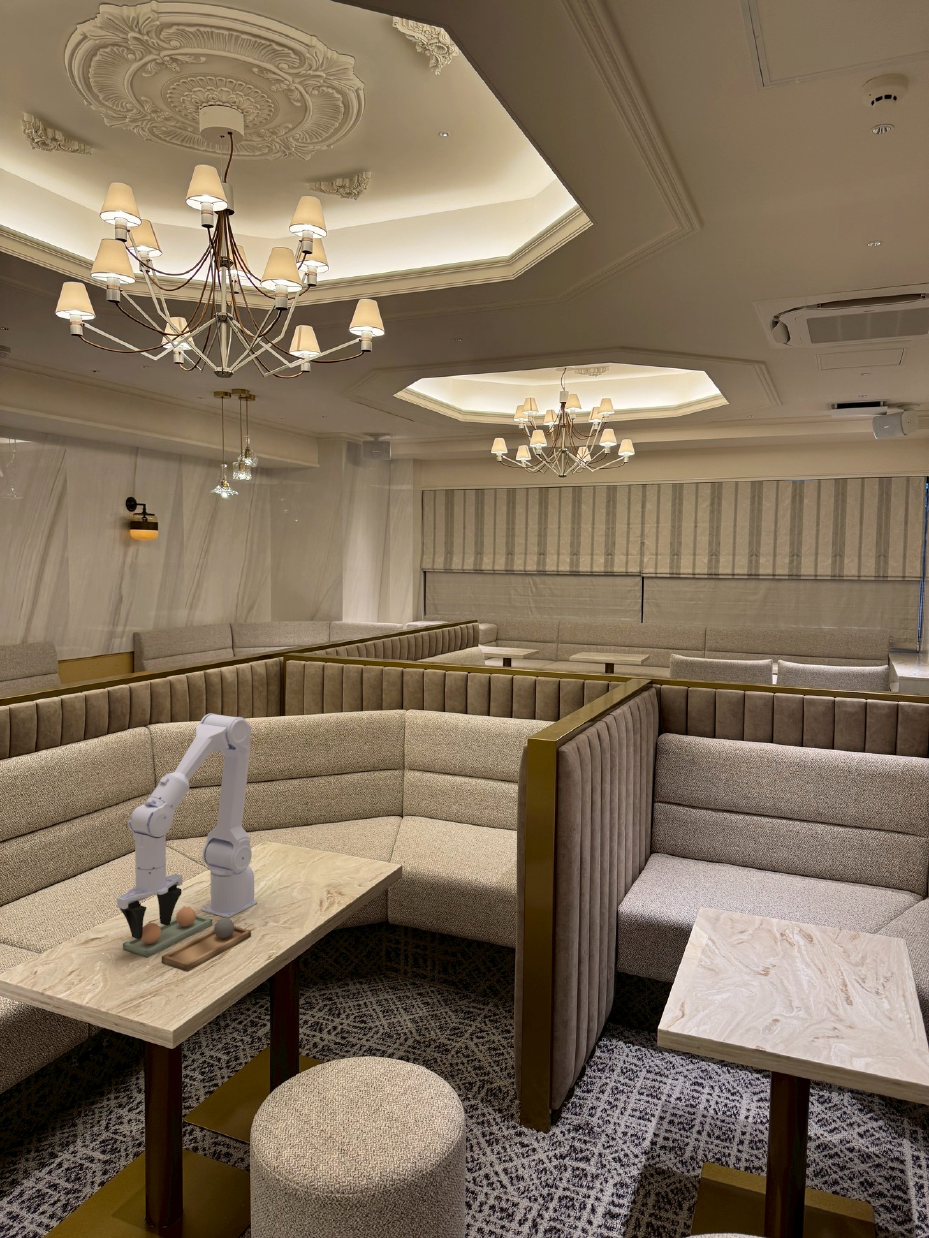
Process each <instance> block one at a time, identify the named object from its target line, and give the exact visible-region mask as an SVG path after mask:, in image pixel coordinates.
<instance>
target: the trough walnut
mask: <svg viewBox="0 0 929 1238" xmlns="http://www.w3.org/2000/svg"><path fill="white" fill-rule="evenodd" d="M251 936H252V930H250V929H247V928H243V927H239V926H236V925H234V932H233V934H232V935H231V936H230V937H228V938H225V939H221V938H219V937H217V936H216V934H215V932H214V929H212V930H210V931H208V932H206V933H205V934H203V935H200V936H199V937H197V938H195V939H193V940H191V941H189V942H188V943H185V944H183V945H181V946H179V947H177V948H176V949H173V950H171V951H170V952H168V953H166V954H163V955H162V956H161V963H163V964H165V965H168V966H171V967H174V968H177V969H180V970H182V971H186V972H189V971H190V970H192V969H194V968H197V967H198V966H199V965H202V964H203V963H205V962H207V961H209V960H210V959H213V958H215V957H216V956H218V955H220V954H222V953H223V952H225V951H227V950H229V949H231V948H232V947H234V946H236V945H238V944H240V943H241V942H243V941H245V940H247V939H249V938H250V937H251Z"/></svg>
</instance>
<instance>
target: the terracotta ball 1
mask: <svg viewBox="0 0 929 1238" xmlns="http://www.w3.org/2000/svg"><path fill="white" fill-rule="evenodd" d="M159 926H160V925H159V924H157V923H155V922H149V923H147V924H145V925H143V934H142V938H141V940H142V942H144V943H145V944H153V943H155V942H157V941H158V940H159V938H160V936H161V929H160V927H159Z"/></svg>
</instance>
